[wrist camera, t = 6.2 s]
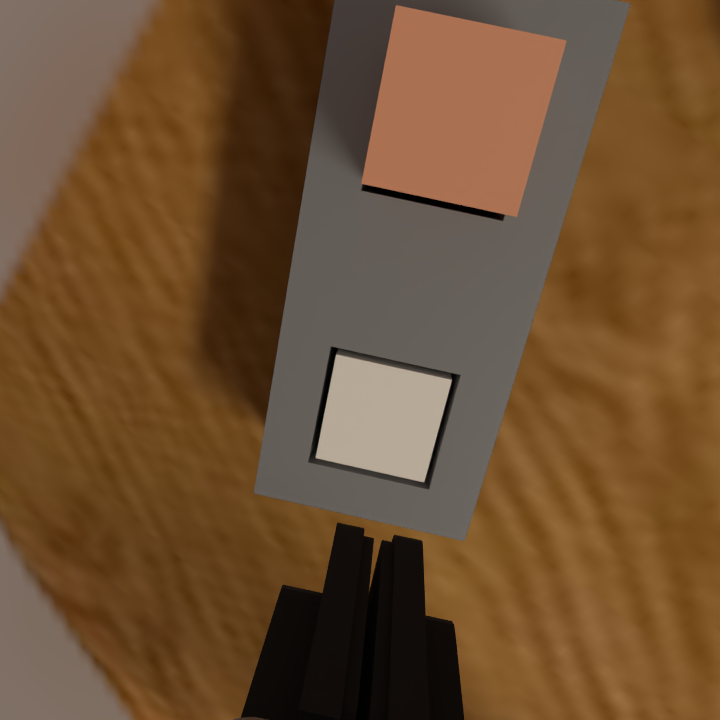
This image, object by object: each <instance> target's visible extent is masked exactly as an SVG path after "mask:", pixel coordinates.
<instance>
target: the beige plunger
mask: <svg viewBox="0 0 720 720" xmlns="http://www.w3.org/2000/svg"><path fill="white" fill-rule="evenodd" d="M451 382H452V378H451V373H449V372H445V371H440V370H436V369H431V368H427V367H422V366H418V365H413V364H409V363H404V362H400V361H395V360H391V359H386V358H381V357H377V356H372V355H368V354H363V353H359V352H354V351H350V350H345V349H341V348H339V349H338V351H337V354H336V358H335V363H334V368H333V373H332V378H331V383H330V388H329V393H328V398H327V403H326V408H325V413H324V418H323V423H322V428H321V433H320V438H319V443H318V448H317V453H316V458H318V459H322V460H326V461H331V462H335V463H340V464H344V465H349V466H353V467H358V468H362V469H366V470H371V471H375V472H380V473H384V474H389V475H393V476H398V477H402V478H406V479H411V480H415V481H420V482H424V481H425V478H426V474H427V470H428V467H429V463H430V459H431V456H432V452H433V448H434V444H435V441H436V437H437V433H438V430H439V426H440V422H441V419H442V415H443V411H444V408H445V404H446V400H447V397H448V393H449V389H450V386H451Z"/></svg>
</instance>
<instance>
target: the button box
mask: <svg viewBox="0 0 720 720" xmlns="http://www.w3.org/2000/svg"><path fill="white" fill-rule="evenodd" d="M630 4H631V3H626V2H621V1H616V0H334V6H333V12H332V18H331V24H330V30H329V37H328V43H327V49H326V55H325V61H324V67H323V73H322V79H321V86H320V92H319V98H318V104H317V110H316V116H315V122H314V128H313V134H312V141H311V147H310V153H309V159H308V165H307V171H306V177H305V183H304V190H303V196H302V202H301V208H300V214H299V220H298V226H297V232H296V238H295V245H294V251H293V257H292V263H291V269H290V275H289V281H288V287H287V294H286V300H285V306H284V312H283V318H282V324H281V330H280V336H279V342H278V349H277V355H276V361H275V367H274V373H273V379H272V385H271V391H270V398H269V404H268V410H267V416H266V422H265V428H264V434H263V440H262V446H261V453H260V459H259V465H258V471H257V477H256V483H255V489H254V494H259V495H263V496H268V497H272V498H276V499H281V500H285V501H290V502H294V503H298V504H303V505H307V506H312V507H316V508H321V509H325V510H329V511H334V512H338V513H343V514H347V515H351V516H356V517H360V518H365V519H369V520H373V521H378V522H382V523H387V524H391V525H395V526H400V527H404V528H409V529H413V530H417V531H422V532H426V533H431V534H435V535H440V536H444V537H448V538H453V539H457V540H462V541H465V538H466V535H467V531H468V528H469V525H470V522H471V519H472V515H473V512H474V509H475V506H476V502H477V499H478V496H479V493H480V489H481V486H482V483H483V480H484V476H485V473H486V470H487V467H488V464H489V460H490V457H491V454H492V451H493V447H494V444H495V441H496V438H497V434H498V431H499V428H500V425H501V421H502V418H503V415H504V412H505V409H506V405H507V402H508V399H509V396H510V392H511V389H512V386H513V383H514V379H515V376H516V373H517V370H518V367H519V363H520V360H521V357H522V354H523V350H524V347H525V344H526V341H527V337H528V334H529V331H530V328H531V324H532V321H533V318H534V315H535V312H536V308H537V305H538V302H539V299H540V295H541V292H542V289H543V286H544V282H545V279H546V276H547V273H548V269H549V266H550V263H551V260H552V257H553V253H554V250H555V247H556V244H557V240H558V237H559V234H560V231H561V227H562V224H563V221H564V218H565V215H566V211H567V208H568V205H569V202H570V198H571V195H572V192H573V189H574V185H575V182H576V179H577V176H578V172H579V169H580V166H581V163H582V160H583V156H584V153H585V150H586V147H587V143H588V140H589V137H590V134H591V130H592V127H593V124H594V121H595V117H596V114H597V111H598V108H599V105H600V101H601V98H602V95H603V92H604V88H605V85H606V82H607V79H608V75H609V72H610V69H611V66H612V62H613V59H614V56H615V53H616V50H617V46H618V43H619V40H620V37H621V33H622V30H623V27H624V24H625V20H626V17H627V14H628V11H629V8H630ZM396 5H398V6H403V7H408V8H412V9H417V10H422V11H427V12H432V13H437V14H441V15H446V16H451V17H456V18H461V19H466V20H470V21H475V22H480V23H485V24H490V25H495V26H499V27H504V28H509V29H514V30H519V31H524V32H528V33H533V34H538V35H543V36H548V37H553V38H558V39H562V40H567V42H566V45H565V49H564V52H563V56H562V59H561V63H560V66H559V70H558V74H557V77H556V81H555V84H554V88H553V91H552V95H551V98H550V102H549V105H548V109H547V112H546V116H545V119H544V123H543V127H542V130H541V134H540V137H539V141H538V144H537V148H536V151H535V155H534V158H533V162H532V165H531V169H530V172H529V176H528V180H527V183H526V187H525V190H524V194H523V197H522V201H521V204H520V208H519V211H518V215H517V217H515V216H510V215H505V214H501V213H496V212H491V211H487V210H485V211H484V214H481V213H477V212H472V211H467V210H463V209H458V208H453V207H449V206H444V205H439V204H435V203H430V202H425V201H421V200H416V199H411V198H407V197H402V196H397V195H393V194H388V193H383V192H379V191H374V190H371V188H372V186H370V185H365V184H361V183H362V177H363V172H364V167H365V162H366V157H367V152H368V146H369V141H370V136H371V131H372V126H373V121H374V116H375V110H376V105H377V100H378V95H379V90H380V85H381V79H382V74H383V69H384V64H385V59H386V54H387V49H388V43H389V38H390V33H391V28H392V23H393V18H394V12H395V7H396ZM339 348H341V349H345V350H350V351H354V352H359V353H363V354H368V355H372V356H377V357H381V358H386V359H391V360H395V361H400V362H404V363H409V364H413V365H418V366H422V367H427V368H431V369H436V370H440V371H445V372H449V373H451V378H452V382H451V386H450V389H449V393H448V397H447V400H446V404H445V408H444V411H443V415H442V419H441V422H440V426H439V430H438V433H437V437H436V441H435V444H434V448H433V452H432V456H431V459H430V463H429V467H428V470H427V474H426V478H425V481H424V482H420V481H415V480H411V479H406V478H402V477H398V476H393V475H389V474H384V473H380V472H375V471H371V470H366V469H362V468H358V467H353V466H349V465H344V464H340V463H335V462H331V461H326V460H322V459H318V458H316V453H317V448H318V443H319V438H320V433H321V428H322V423H323V418H324V413H325V408H326V403H327V398H328V393H329V388H330V383H331V378H332V373H333V368H334V363H335V358H336V354H337V351H338V349H339Z"/></svg>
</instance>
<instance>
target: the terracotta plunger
mask: <svg viewBox="0 0 720 720" xmlns="http://www.w3.org/2000/svg"><path fill="white" fill-rule="evenodd" d="M566 42H567V40H562V39H558V38H553V37H548V36H543V35H538V34H533V33H528V32H524V31H519V30H514V29H509V28H504V27H499V26H495V25H490V24H485V23H480V22H475V21H470V20H466V19H461V18H456V17H451V16H446V15H441V14H437V13H432V12H427V11H422V10H417V9H412V8H408V7H403V6H398V5H396V7H395V12H394V18H393V23H392V28H391V33H390V38H389V43H388V49H387V54H386V59H385V64H384V69H383V74H382V79H381V85H380V90H379V95H378V100H377V105H376V110H375V116H374V121H373V126H372V131H371V136H370V141H369V146H368V152H367V157H366V162H365V167H364V172H363V177H362V183H361V184H365V185H370V186H374V187H379V188H384V189H388V190H393V191H398V192H402V193H407V194H412V195H417V196H421V197H426V198H431V199H435V200H440V201H445V202H449V203H454V204H459V205H463V206H468V207H473V208H477V209H482V210H487V211H491V212H496V213H501V214H505V215H510V216H515V217H517V215H518V211H519V208H520V204H521V201H522V197H523V194H524V190H525V187H526V183H527V180H528V176H529V172H530V169H531V165H532V162H533V158H534V155H535V151H536V148H537V144H538V141H539V137H540V134H541V130H542V127H543V123H544V119H545V116H546V112H547V109H548V105H549V102H550V98H551V95H552V91H553V88H554V84H555V81H556V77H557V74H558V70H559V66H560V63H561V59H562V56H563V52H564V49H565V45H566Z"/></svg>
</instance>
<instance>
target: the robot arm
mask: <svg viewBox="0 0 720 720" xmlns="http://www.w3.org/2000/svg"><path fill="white" fill-rule="evenodd" d="M373 543H374V538H370V537H365V536H364V528H360V527H356V526H351V525H346V524H342V523H337V527H336V532H335V536H334V541H333V546H332V551H331V556H330V561H329V565H328V570H327V575H326V580H325V585H324V589H323V593H319V592H314V591H310V590H305V589H300V588H296V587H291V586H286V585H283V586H282V588H281V591H280V594H279V597H278V600H277V603H276V607H275V610H274V613H273V616H272V619H271V623H270V626H269V629H268V632H267V635H266V639H265V642H264V645H263V648H262V651H261V655H260V658H259V661H258V664H257V667H256V671H255V674H254V677H253V680H252V684H251V687H250V690H249V693H248V696H247V700H246V703H245V706H244V709H243V712H242V716H241V718H237V719H234V720H464V713H463V703H462V694H461V684H460V674H459V664H458V655H457V645H456V635H455V628H454V624H453V622H452V621H448V620H444V619H439V618H435V617H430V616H425V590H424V564H423V543H422V541H421V540H417V539H412V538H407V537H403V536H398V535H394V536H393V539H392V542H389V541H384V540H382V542H381V545H380V549H379V554H378V558H377V562H376V566H375V570H374V574H373V579H372V583H371V587H370V591H369V584H370V574H371V563H372V553H373ZM368 594H369V595H368Z"/></svg>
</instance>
